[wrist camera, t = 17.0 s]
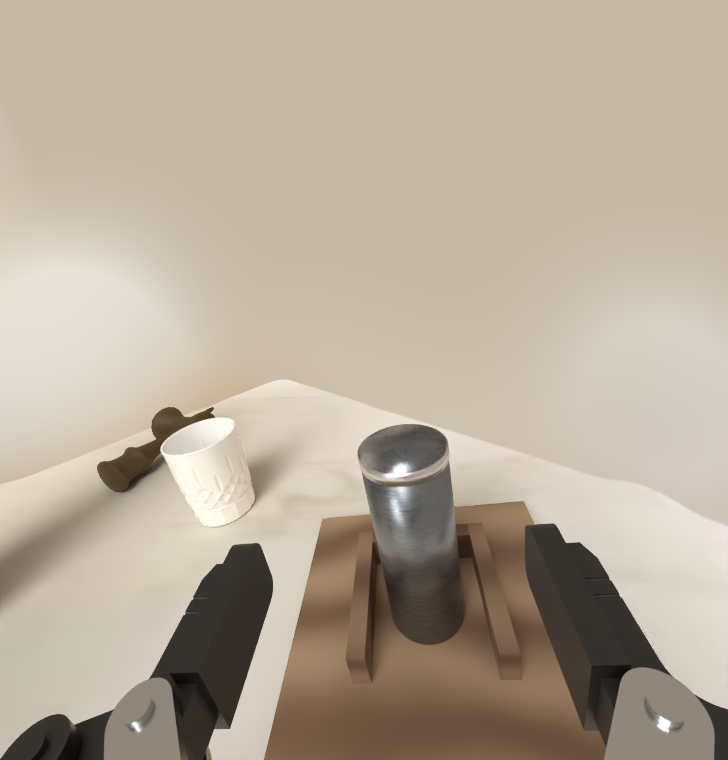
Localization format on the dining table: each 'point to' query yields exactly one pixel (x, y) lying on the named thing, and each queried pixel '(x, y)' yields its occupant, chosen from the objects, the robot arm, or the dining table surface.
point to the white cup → (211, 470)
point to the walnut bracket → (425, 659)
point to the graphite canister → (415, 529)
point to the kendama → (146, 449)
